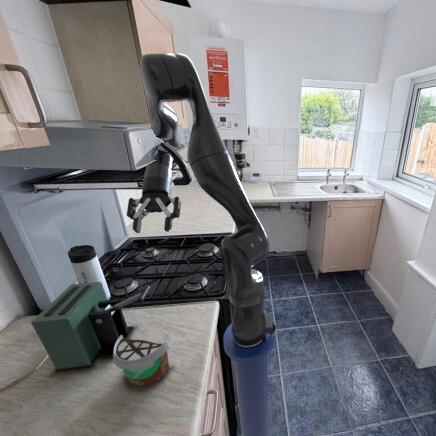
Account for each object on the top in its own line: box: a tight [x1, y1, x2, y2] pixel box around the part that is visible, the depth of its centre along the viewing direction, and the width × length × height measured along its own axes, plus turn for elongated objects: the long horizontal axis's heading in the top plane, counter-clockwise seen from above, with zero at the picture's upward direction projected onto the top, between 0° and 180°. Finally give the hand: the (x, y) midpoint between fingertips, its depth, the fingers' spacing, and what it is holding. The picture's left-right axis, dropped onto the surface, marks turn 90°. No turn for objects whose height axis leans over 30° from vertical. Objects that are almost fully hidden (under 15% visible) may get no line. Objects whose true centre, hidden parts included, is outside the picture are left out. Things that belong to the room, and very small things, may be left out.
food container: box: [112, 335, 170, 389], centre depth 53 cm, size 12×6×10 cm, turn 82°
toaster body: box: [30, 282, 107, 373], centre depth 60 cm, size 7×13×16 cm, turn 10°
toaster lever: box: [97, 285, 151, 315], centre depth 60 cm, size 13×5×2 cm, turn 99°
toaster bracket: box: [88, 298, 135, 360], centre depth 61 cm, size 5×9×13 cm, turn 10°
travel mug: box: [67, 244, 112, 300], centre depth 75 cm, size 6×7×20 cm
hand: (152, 231), depth 66 cm, fingers open, 7 cm apart
